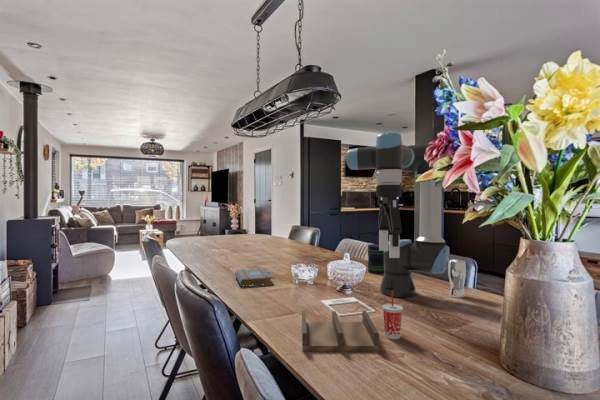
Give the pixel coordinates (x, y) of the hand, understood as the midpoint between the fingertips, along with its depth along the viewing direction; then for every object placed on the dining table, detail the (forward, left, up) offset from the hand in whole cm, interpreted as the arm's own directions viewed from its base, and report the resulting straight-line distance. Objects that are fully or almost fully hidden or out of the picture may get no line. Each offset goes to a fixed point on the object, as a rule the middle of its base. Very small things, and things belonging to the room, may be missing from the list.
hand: (388, 253), depth 105 cm
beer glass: (-40, -41, -25) cm, 63 cm away
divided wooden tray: (+16, +2, -25) cm, 30 cm away
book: (+50, -69, -26) cm, 89 cm away
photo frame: (+9, -27, -26) cm, 39 cm away
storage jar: (-16, -87, -25) cm, 92 cm away
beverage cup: (-1, +1, -25) cm, 25 cm away
